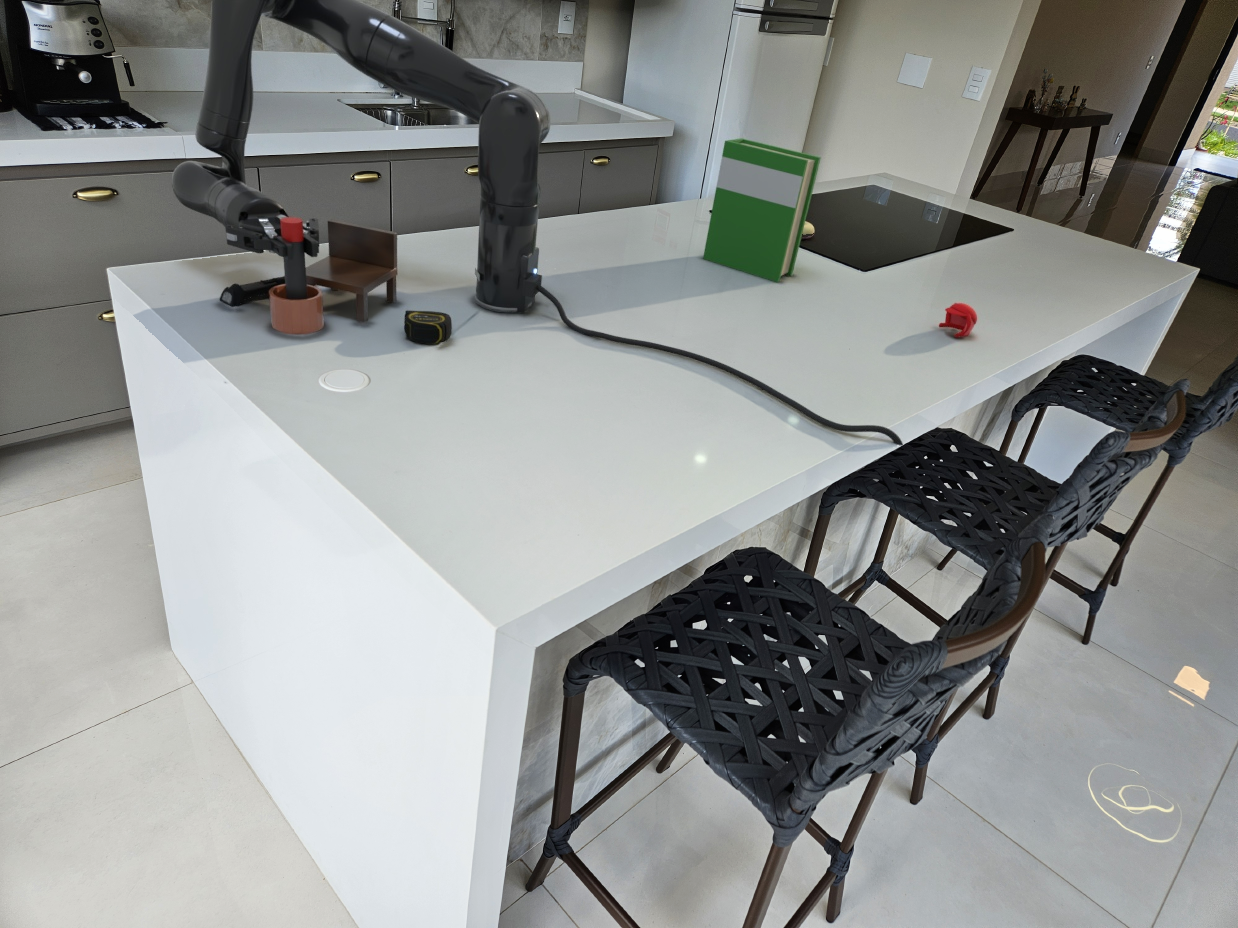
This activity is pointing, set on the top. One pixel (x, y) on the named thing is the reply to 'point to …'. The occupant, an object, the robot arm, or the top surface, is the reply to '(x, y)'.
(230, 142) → the robot arm
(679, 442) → the top surface
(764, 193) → the hardback book
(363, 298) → the chair
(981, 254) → the top surface
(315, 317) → the pen pot
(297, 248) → the marker
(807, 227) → the donut
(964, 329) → the red toy helmet
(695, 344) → the top surface
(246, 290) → the electric trimmer
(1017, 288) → the top surface
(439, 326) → the tape measure
